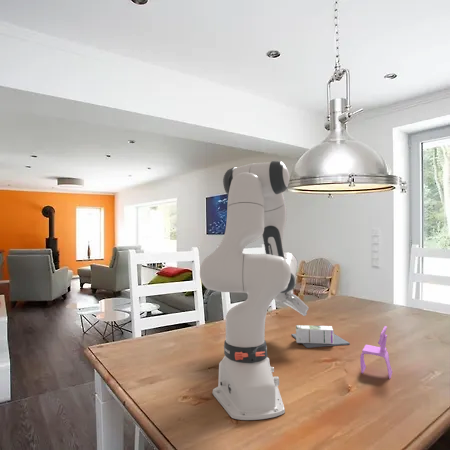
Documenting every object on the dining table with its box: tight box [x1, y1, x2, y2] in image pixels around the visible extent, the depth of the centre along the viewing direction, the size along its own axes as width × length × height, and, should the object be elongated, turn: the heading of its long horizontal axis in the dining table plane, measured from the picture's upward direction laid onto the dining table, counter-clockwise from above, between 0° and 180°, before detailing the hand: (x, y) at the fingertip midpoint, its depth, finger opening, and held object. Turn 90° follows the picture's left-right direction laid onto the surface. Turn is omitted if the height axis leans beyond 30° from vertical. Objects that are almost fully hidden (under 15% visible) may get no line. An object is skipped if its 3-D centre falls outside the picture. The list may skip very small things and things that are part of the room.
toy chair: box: [359, 325, 393, 379], centre depth 113 cm, size 8×9×15 cm
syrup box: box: [295, 324, 335, 344], centre depth 142 cm, size 6×6×14 cm
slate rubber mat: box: [291, 333, 350, 349], centre depth 146 cm, size 16×18×1 cm
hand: (304, 314), depth 145 cm, fingers closed
